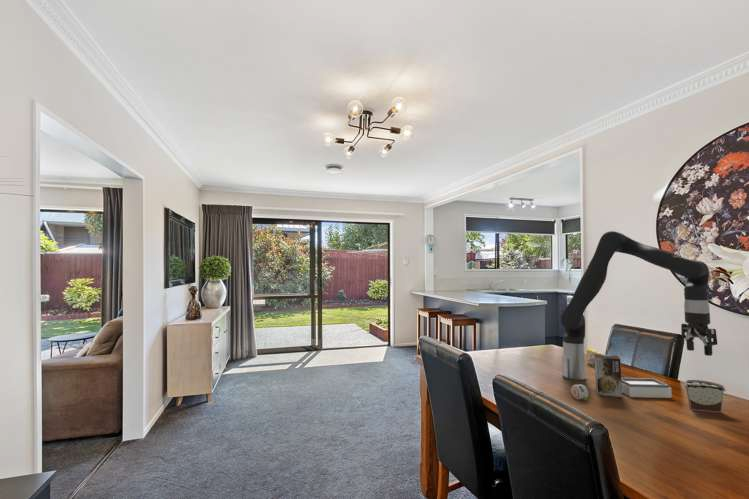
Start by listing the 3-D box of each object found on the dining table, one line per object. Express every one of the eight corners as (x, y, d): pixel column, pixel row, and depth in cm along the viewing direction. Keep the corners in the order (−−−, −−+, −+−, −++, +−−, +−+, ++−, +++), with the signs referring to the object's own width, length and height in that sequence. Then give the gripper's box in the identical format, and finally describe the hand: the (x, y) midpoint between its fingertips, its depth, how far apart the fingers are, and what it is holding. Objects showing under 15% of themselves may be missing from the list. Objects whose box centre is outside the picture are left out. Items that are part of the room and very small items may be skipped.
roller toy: (580, 402, 149) (579, 387, 149) (569, 396, 155) (568, 382, 155) (589, 401, 149) (589, 386, 150) (578, 395, 156) (578, 382, 156)
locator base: (630, 396, 154) (629, 384, 154) (615, 388, 164) (615, 377, 165) (671, 397, 152) (671, 385, 152) (654, 389, 163) (653, 377, 163)
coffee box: (619, 392, 159) (618, 355, 159) (622, 397, 153) (621, 358, 154) (595, 390, 162) (594, 353, 163) (597, 394, 157) (595, 356, 157)
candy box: (586, 363, 206) (586, 349, 206) (590, 363, 206) (589, 348, 206) (608, 372, 190) (607, 356, 190) (612, 372, 190) (611, 355, 190)
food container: (717, 407, 142) (716, 381, 143) (726, 413, 136) (725, 386, 137) (678, 403, 146) (677, 378, 147) (686, 409, 140) (685, 382, 141)
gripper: (673, 309, 152) (675, 348, 151) (701, 313, 138) (704, 357, 137) (692, 309, 151) (694, 348, 150) (722, 313, 137) (725, 357, 136)
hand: (699, 352), depth 144 cm, fingers open, 8 cm apart
